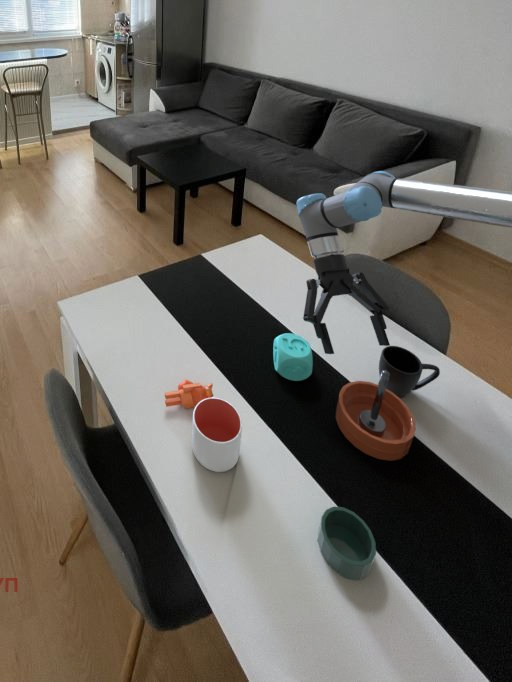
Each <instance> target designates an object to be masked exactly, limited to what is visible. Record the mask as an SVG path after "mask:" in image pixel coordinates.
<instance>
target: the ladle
mask: <svg viewBox="0 0 512 682" xmlns="http://www.w3.org/2000/svg"><path fill="white" fill-rule="evenodd" d="M389 376H390V374H389V372H388V371H386V370H383V371H382V373H381V377H380V376H379V381H378V384H377V385H378V388H377V392H376V396H375V399H374V403H373V407H372V410H363V411H362V412H361V413H360V417H359V425H360V427H361V428H362V429H363V430H365V431H366V432H368V433H370V434H371V435H373V436H376V437H381V436H382V435H383V434H384V432H385V428H386V423H385V421H384V419H383V418H382V417H381V416H380V415H379V411H380V408H381V404H382V401H383V397H384V394H385V390H386V387H387V383H388V379H389Z"/></svg>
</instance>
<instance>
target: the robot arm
mask: <svg viewBox="0 0 512 682" xmlns="http://www.w3.org/2000/svg"><path fill="white" fill-rule="evenodd" d="M295 205H296V208H297V212H298V218H299V220H300V223H301V226H302V229H303V232H304V235H305V238H306V243H307V246H308V249H309V253H310V256H311V257H312V258H314V259H313V260H312V263H313V266H314V270H315V273H316V275H317V279H315V278H309V279H307V280H306V288H307V291H306V298H305V305H304V309H303V310H304V311H303V316H302V319H303V321H304V322H307V323H310V324H312V325H313V328H314V332H315V335H316V337H317V339H320V341H321V344H322V348H323V351H324V354H326V355H335V351H334V348H333V343H332V341H331V337H330V334H329V330H328V327H327V324H326V322H322V321H323V318H324V316H325V314H326V312H327V309H328V307H329V304H330V302H331V300H332V298H333V297H338V296H344V295H345V296H346V295H348V296H350V297H351V298H353V299H354V300H355V301H356V302H357V303H358V304H360V305H361V306H362V307H364V309H366V310H367V311H368V312H369V313H371V314H372V315H369V318H370V321H371V324H372V328H373V330H374V333H375V337H376V339H377V342H378V345H379V346H380V347H381V346H382V347H383V346H384V347H388V346H391V343H390V341H389V338H388V335H387V332H386V330H387V324H386V321H385V317H384V315H385V314H386V312H388V311H390V307H389V306H388V305H387V303H386V301H384V300H383V298H382V297H381V296H380V295H379V294H378V292H377V291H376V290H375V289H374V287H373V286H372V285H371V284H370V283H369V281H368V280H367V278H366V276H365V274H364V273H363V272H361V271H360V272H355V273H353V274H351V272H350V266H349V263H348V260H347V256H346V255H345V254H343V253H344V247H343V244H342V242H341V239H340V235H339V233H338V229H339V228H342V227H345V226H350V225H353V224H357V223H361V222H367V221H369V220H370V219H374V218H376V217H379V216H380V215H381V213H382V208H383V207H384V208H389V209H398V210H402V211H410V212H415V213H421V214H427V215H433V216H438V217H443V218H449V219H454V220H455V219H456V220H461V221H467V222H472V223H479V224H485V225H491V226H496V227H502V228H508V229H512V191H510V190H501V189H493V188H484V187H474V186H468V185H459V184H451V183H443V182H442V183H441V182H433V181H425V180H415V179H406V178H399V177H398V178H397V177H395V176H394V174H391V173H390V172H388V171H384V170H378V171H377V170H376V171H373V172H372V173H369V174H367V175H365V176H364V177H362V178H361V179H360V180H358V181H357V182H356V183H354V184H353V185H351V186H350V187H348V188H346V190H344V191H342V192H340V193H338V194H335V195H333V196H330V197H327V196H326V195H325V194H324V193H320V192H319V193H311V194H307V195H304V196H302V197H299V198H298V199H297V200H296V203H295ZM354 283H355V284H357V286H358V287H359V288H358V287H356V286H355V285H354ZM319 287H321V289H322V290H321V293H320V297H319V300H318V302H317V297H318V296H317V295H318V288H319ZM360 290H361V291H362V292H363V293H362V292H361V291H360ZM364 294H365V295H364ZM316 303H317V305H316Z"/></svg>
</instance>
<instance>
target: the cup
mask: <svg viewBox="0 0 512 682" xmlns="http://www.w3.org/2000/svg"><path fill="white" fill-rule="evenodd" d="M191 429H192V430H191V433H192V434H191V448H192V451H193V455H194V457H195V458H196V460H197V462H199V464H200V465H201V466H203V467H204V468H206V469H207V470H209V471H212V472H216V473H225V472H227V471H231V469H232V468H234V467H235V466H236V464H237V462H238V460H239V459H240V458H239V457H240V451H241V450H240V449H241V443H242V441H241V440H242V431H243V422H242V418H241V415H240V412H239V411H238V409H236V407H235V406H234V405H233V404H232V403H230V402H228V401H227V400H225V399H224V398H223V399H222V398H219V397H212V398H206V399H204V400H202V401H200V402H199V403H198V404H197V405H196V407H194V408H193V412H192V428H191Z"/></svg>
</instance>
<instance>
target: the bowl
mask: <svg viewBox="0 0 512 682" xmlns="http://www.w3.org/2000/svg"><path fill="white" fill-rule="evenodd" d="M377 388H378V384H377V383H375V382H371V381H365V380H356V381H351V382H350V381H349V382H348V383H346V384H345V385H343V386H342V388H341V389H340V391H339V393H338V398H337V402H336V407H335V420H336V423H337V426H338V428H339V430H340V431H341V433H342V434H343V437H345V438H346V439H347V441H349V442H350V443H351V444H352V445H353V446H354V448H356V449H357V450H359V451H361V452H362V453H364V454H365V455H367V456H370V457H372V458H375V459H377V460H380V461H381V460H382V461H390V462H391V461H392V462H393V461H398V460H401V459H403V458H404V457H405V456H406V455H408V454H409V451H410V448H411V446H412V443H413V440H414V437H415V434H416V431H417V425H416V419H415V417H414V414H413V413H412V411H411V409H410V408H409V407H408V405H407V404H406V403H405V402H404V401H403V399H402V398H399V397H398V396H396V395H395V394H394V393H393V392H391V391H389V390H388V389H386V390H385V394H384V397H383V401H382V404H381V408H380V411H379V415H380V416H381V417H382V418H383V419H384V421H385V423H386V428H385V432H384V434H383V435H382V436H381V437H376V436H373V435H371V434H370V433H368V432H366V431H365V430H363V429H362V428H361V427H360V425H359V417H360V413H361V412H362V411H363V410H372V407H373V403H374V399H375V396H376V392H377Z"/></svg>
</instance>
